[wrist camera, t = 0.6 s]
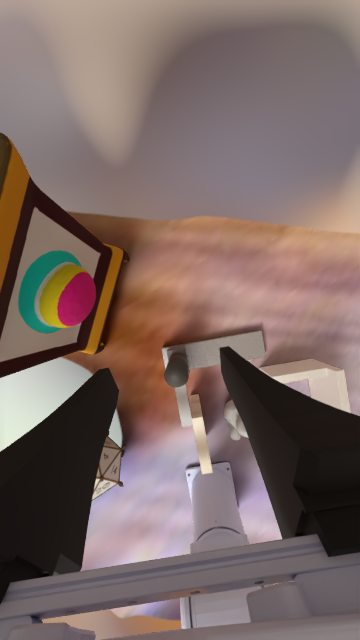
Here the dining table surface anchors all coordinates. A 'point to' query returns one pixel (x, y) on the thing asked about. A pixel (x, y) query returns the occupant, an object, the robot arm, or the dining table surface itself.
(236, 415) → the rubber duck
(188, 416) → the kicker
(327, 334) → the dining table surface
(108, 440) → the game die
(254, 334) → the rail
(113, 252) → the decorative lantern
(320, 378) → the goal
